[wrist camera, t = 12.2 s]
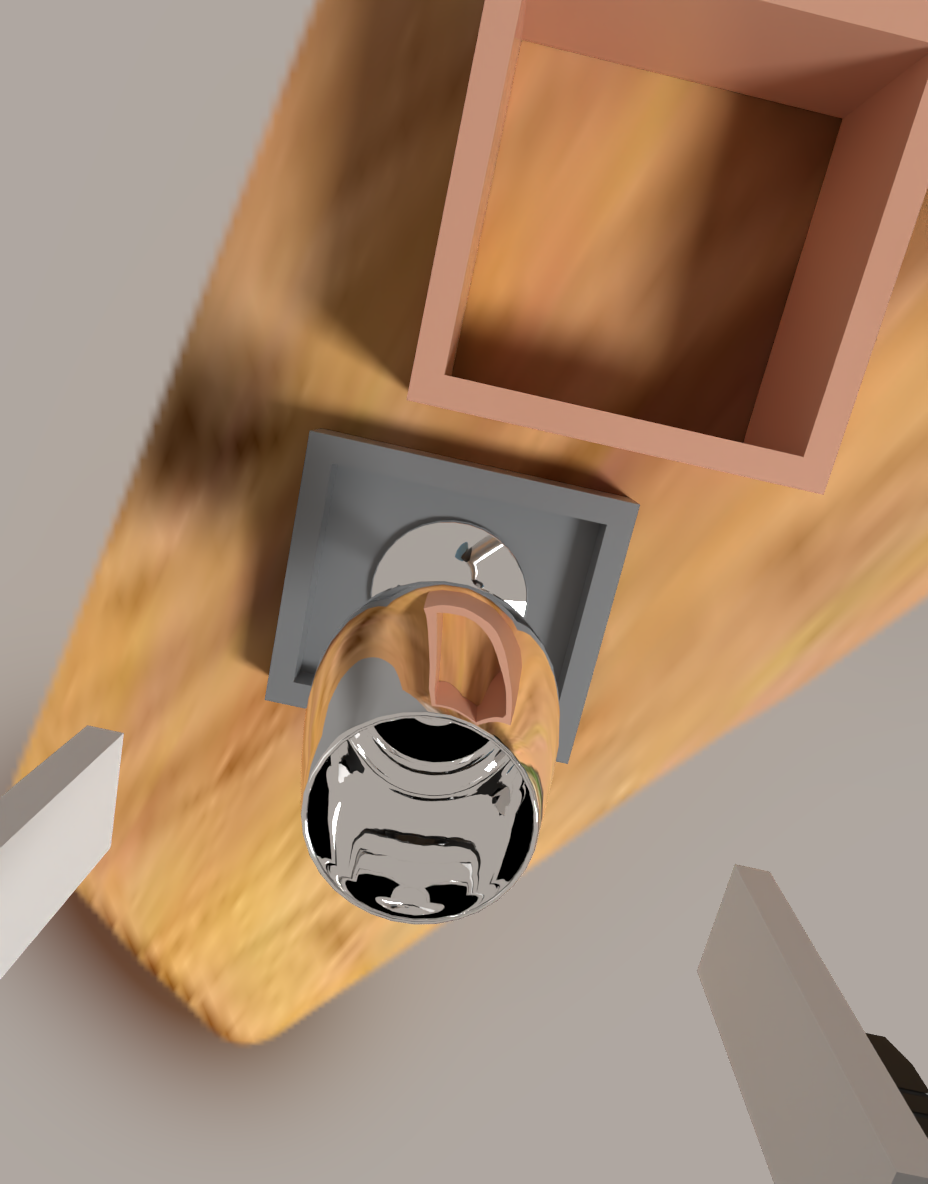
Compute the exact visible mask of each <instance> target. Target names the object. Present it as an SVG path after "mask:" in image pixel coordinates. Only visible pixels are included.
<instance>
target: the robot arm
mask: <svg viewBox="0 0 928 1184" xmlns="http://www.w3.org/2000/svg"><path fill="white" fill-rule="evenodd" d="M123 736H124V733H120V732H116V731H111V730H107V729H102V728H97V727H93V726H88V725H87V726H86V727H85V728H84V729H82V730H81V731H80V732H79V733H78V734H76V735H75V736H74V737H73V738H71V739H70V740H69V741H68V742H67V743H65V744H64V745H63V746H62V747H61V748H59V749H58V750H57V751H56V752H54V753H53V754H52V755H51V756H50V757H48V758H47V759H46V760H45V761H44V762H42V763H41V764H40V765H39V766H37V767H36V768H35V769H34V770H33V771H31V772H30V773H29V774H28V775H27V776H25V777H24V778H23V779H22V780H20V781H19V782H18V783H17V784H16V785H14V786H13V787H12V788H11V789H10V790H8V791H7V792H6V793H5V794H4V795H2V796H1V797H0V979H1V978H2V977H3V976H4V974H5V973H6V972H7V970H8V969H9V968H10V967H11V966H12V965H13V964H14V962H15V961H16V960H17V959H18V958H19V956H20V955H21V954H22V953H23V952H24V950H25V949H26V948H27V947H28V946H29V944H30V943H31V942H32V941H33V940H34V938H35V937H36V936H37V935H38V934H39V932H40V931H41V930H42V929H43V927H44V926H45V925H46V924H47V923H48V922H49V920H50V919H51V918H52V917H53V916H54V915H55V913H56V912H57V911H58V910H59V909H60V907H61V906H62V905H63V904H64V903H65V901H66V900H67V899H68V897H69V896H70V895H71V894H72V893H73V892H74V891H75V889H76V888H77V887H78V886H79V885H80V883H81V882H82V881H83V880H84V879H85V877H86V876H87V875H88V874H89V873H90V871H91V870H92V869H93V868H94V867H95V865H96V864H97V863H98V862H99V861H100V859H101V858H102V857H103V856H104V855H105V853H106V852H107V851H108V850H109V849H110V847H111V839H112V830H113V822H114V813H115V804H116V796H117V787H118V779H119V770H120V761H121V753H122V744H123ZM697 972H698V975H699V978H700V981H701V983H702V986H703V989H704V992H705V994H706V997H707V1000H708V1003H709V1005H710V1008H711V1011H712V1013H713V1016H714V1019H715V1022H716V1025H717V1027H718V1030H719V1033H720V1036H721V1038H722V1041H723V1044H724V1047H725V1050H726V1052H727V1055H728V1058H729V1061H730V1063H731V1066H732V1068H733V1071H734V1074H735V1077H736V1080H737V1082H738V1085H739V1088H740V1091H741V1094H742V1096H743V1099H744V1102H745V1105H746V1107H747V1110H748V1113H749V1115H750V1118H751V1121H752V1124H753V1126H754V1129H755V1132H756V1135H757V1137H758V1140H759V1143H760V1146H761V1149H762V1152H763V1154H764V1157H765V1160H766V1162H767V1165H768V1168H769V1171H770V1174H771V1176H772V1179H773V1181H774V1184H928V1089H927V1087H926V1085H925V1084H924V1082H923V1081H922V1079H921V1078H920V1076H919V1074H918V1073H917V1071H916V1070H915V1068H914V1067H913V1065H912V1064H911V1063H910V1062H909V1061H908V1060H907V1059H906V1058H905V1057H904V1056H903V1055H902V1054H901V1053H900V1052H899V1051H898V1050H897V1049H896V1048H895V1047H894V1046H893V1045H892V1044H891V1043H890V1042H889V1041H888V1040H887V1039H886V1038H885V1037H882V1036H877V1035H873V1034H868V1033H865V1032H864V1030H863V1029H862V1027H861V1025H860V1023H859V1022H858V1020H857V1018H856V1017H855V1015H854V1013H853V1012H852V1010H851V1008H850V1007H849V1005H848V1003H847V1001H846V1000H845V998H844V996H843V995H842V993H841V991H840V990H839V988H838V986H837V985H836V983H835V981H834V979H833V978H832V976H831V974H830V973H829V971H828V969H827V968H826V966H825V964H824V963H823V961H822V960H821V958H820V956H819V954H818V952H817V951H816V949H815V947H814V946H813V944H812V942H811V941H810V939H809V937H808V935H807V934H806V932H805V930H804V929H803V927H802V925H801V924H800V922H799V921H798V919H797V917H796V915H795V913H794V912H793V910H792V908H791V907H790V905H789V903H788V902H787V900H786V899H785V897H784V895H783V893H782V892H781V890H780V888H779V887H778V885H777V883H776V882H775V880H774V878H773V876H772V875H771V873H770V872H768V871H764V870H759V869H755V868H750V867H745V866H741V865H736V864H735V866H734V868H733V871H732V874H731V877H730V880H729V883H728V885H727V888H726V891H725V894H724V897H723V899H722V902H721V905H720V908H719V911H718V913H717V916H716V919H715V922H714V925H713V927H712V930H711V933H710V936H709V939H708V942H707V944H706V947H705V950H704V953H703V956H702V958H701V961H700V964H699V967H698V970H697Z"/></svg>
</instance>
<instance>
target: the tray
mask: <svg viewBox="0 0 928 1184" xmlns="http://www.w3.org/2000/svg"><path fill="white" fill-rule="evenodd" d="M639 507H640V504H638V503H637V502H635V501H634V500H632V499H631V498H629V497H624V496H620V495H616V494H611V493H607V492H602V491H598V490H593V489H589V488H584V487H580V486H576V485H571V484H567V483H562V482H558V481H553V480H549V479H544V478H540V477H536V476H531V475H527V474H522V473H518V472H513V471H509V470H504V469H500V468H496V467H491V466H487V465H482V464H478V463H473V462H469V461H464V460H460V459H456V458H451V457H447V456H442V455H438V454H433V453H429V452H424V451H420V450H415V449H411V448H407V447H402V446H398V445H393V444H389V443H384V442H380V441H375V440H371V439H367V438H362V437H358V436H353V435H349V434H344V433H340V432H335V431H331V430H327V429H322V428H320V429H315V430H310V432H309V438H308V444H307V450H306V456H305V462H304V468H303V474H302V480H301V486H300V492H299V498H298V504H297V510H296V516H295V522H294V528H293V534H292V540H291V546H290V552H289V558H288V564H287V570H286V576H285V582H284V588H283V594H282V600H281V606H280V612H279V618H278V624H277V630H276V636H275V642H274V648H273V654H272V660H271V666H270V672H269V678H268V684H267V690H266V696H265V700H268V701H273V702H277V703H282V704H287V705H291V706H296V707H301V708H306V704H307V698H308V693H309V690H310V687H311V683H312V680H313V678H314V675H315V672H316V669H317V666H318V663H319V661H320V658H321V656H322V653H323V651H324V649H325V647H326V646H327V644H328V642H329V641H330V639H331V638H332V636H333V634H334V633H335V631H336V630H337V629H338V628H339V627H340V626H341V625H342V624H343V623H344V621H345V620H346V619H347V618H348V617H349V616H350V615H351V614H352V613H353V612H354V611H355V610H356V609H357V608H358V607H359V606H360V605H362V604H363V603H365V602H366V601H368V600H369V599H370V598H371V595H370V592H371V585H372V578H373V575H374V572H375V569H376V567H377V564H378V562H379V560H380V559H381V557H382V556H383V554H384V552H385V551H386V550H387V548H388V547H389V546H390V545H391V544H392V543H393V542H394V541H395V540H396V539H397V538H399V537H400V536H401V535H403V534H404V533H406V532H407V531H408V530H411V529H413V528H415V527H417V526H419V525H422V524H425V523H429V522H434V521H438V520H457V521H463V522H469V523H472V524H475V525H477V526H480V527H483V528H485V529H487V530H488V531H490V532H492V533H493V534H495V535H496V536H498V537H499V538H500V539H501V540H502V541H503V542H504V543H505V544H506V545H508V546H509V547H510V549H511V550H512V552H513V553H514V554H515V556H516V557H517V559H518V560H519V563H520V565H521V567H522V569H523V572H524V574H525V579H526V583H527V588H528V605H527V610H526V615H525V618H526V620H527V621H528V623H529V624H530V625H531V627H532V628H533V629H534V631H535V632H536V634H537V635H538V636H539V638H540V640H541V642H542V643H543V645H544V647H545V650H546V652H547V654H548V656H549V659H550V661H551V663H552V665H553V668H554V673H555V678H556V682H557V687H558V694H559V706H560V736H559V747H558V752H557V757H556V761H557V762H561V763H566V764H568V761H569V757H570V754H571V750H572V746H573V743H574V739H575V736H576V732H577V729H578V725H579V721H580V718H581V714H582V711H583V707H584V704H585V700H586V696H587V693H588V689H589V686H590V682H591V678H592V675H593V671H594V668H595V664H596V661H597V657H598V653H599V650H600V646H601V643H602V639H603V636H604V632H605V628H606V625H607V621H608V618H609V614H610V610H611V607H612V603H613V600H614V596H615V593H616V589H617V585H618V582H619V578H620V575H621V571H622V568H623V564H624V560H625V557H626V553H627V550H628V546H629V542H630V539H631V535H632V532H633V528H634V525H635V521H636V517H637V514H638V510H639Z"/></svg>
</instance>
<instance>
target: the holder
mask: <svg viewBox="0 0 928 1184" xmlns="http://www.w3.org/2000/svg"><path fill="white" fill-rule="evenodd" d="M521 40H525V41H529V42H533V43H538V44H542V45H546V46H550V47H554V48H558V49H562V50H566V51H570V52H574V53H578V54H582V55H586V56H590V57H594V58H598V59H603V60H607V61H611V62H615V63H619V64H623V65H627V66H631V67H635V68H639V69H643V70H647V71H651V72H655V73H659V74H664V75H668V76H672V77H676V78H680V79H684V80H688V81H692V82H696V83H700V84H704V85H708V86H712V87H716V88H720V89H725V90H729V91H733V92H737V93H741V94H745V95H749V96H753V97H757V98H761V99H765V100H769V101H773V102H777V103H781V104H785V105H790V106H794V107H798V108H802V109H806V110H810V111H814V112H818V113H822V114H826V115H830V116H834V117H838V118H842V122H841V126H840V129H839V132H838V135H837V139H836V142H835V145H834V148H833V152H832V155H831V158H830V162H829V165H828V168H827V171H826V175H825V178H824V181H823V184H822V188H821V191H820V194H819V197H818V201H817V204H816V207H815V210H814V214H813V217H812V220H811V223H810V227H809V230H808V233H807V236H806V240H805V243H804V246H803V249H802V253H801V256H800V259H799V262H798V266H797V269H796V272H795V276H794V279H793V282H792V285H791V289H790V292H789V295H788V298H787V302H786V305H785V308H784V311H783V315H782V318H781V321H780V324H779V328H778V331H777V334H776V337H775V341H774V344H773V347H772V350H771V354H770V357H769V360H768V363H767V367H766V370H765V373H764V376H763V380H762V383H761V386H760V390H759V393H758V396H757V399H756V403H755V406H754V409H753V412H752V416H751V419H750V422H749V425H748V429H747V432H746V435H745V438H744V442H743V443H740V442H736V441H731V440H727V439H723V438H718V437H714V436H710V435H705V434H701V433H697V432H692V431H688V430H683V429H679V428H675V427H670V426H666V425H662V424H657V423H653V422H648V421H644V420H640V419H635V418H631V417H627V416H622V415H618V414H613V413H609V412H605V411H600V410H596V409H592V408H587V407H583V406H579V405H574V404H570V403H565V402H561V401H557V400H552V399H548V398H544V397H539V396H535V395H530V394H526V393H522V392H517V391H513V390H509V389H504V388H500V387H495V386H491V385H487V384H482V383H478V382H474V381H469V380H465V379H461V378H456V377H452V371H453V366H454V361H455V357H456V352H457V347H458V342H459V337H460V333H461V328H462V323H463V318H464V313H465V309H466V304H467V299H468V294H469V289H470V285H471V280H472V275H473V270H474V265H475V261H476V256H477V251H478V246H479V241H480V237H481V232H482V227H483V222H484V218H485V213H486V208H487V203H488V198H489V194H490V189H491V184H492V179H493V174H494V170H495V165H496V160H497V155H498V150H499V146H500V141H501V136H502V131H503V126H504V122H505V117H506V112H507V107H508V102H509V98H510V93H511V88H512V83H513V79H514V74H515V69H516V64H517V59H518V55H519V50H520V45H521ZM927 188H928V0H485V2H484V7H483V13H482V18H481V23H480V28H479V33H478V38H477V43H476V48H475V53H474V58H473V64H472V69H471V74H470V79H469V84H468V89H467V94H466V99H465V104H464V109H463V115H462V120H461V125H460V130H459V135H458V140H457V145H456V150H455V155H454V160H453V166H452V171H451V176H450V181H449V186H448V191H447V196H446V201H445V206H444V211H443V217H442V222H441V227H440V232H439V237H438V242H437V247H436V252H435V257H434V263H433V268H432V273H431V278H430V283H429V288H428V293H427V298H426V303H425V308H424V314H423V319H422V324H421V329H420V334H419V339H418V344H417V349H416V354H415V359H414V365H413V370H412V375H411V380H410V385H409V390H408V395H407V400H409V401H413V402H418V403H422V404H427V405H431V406H435V407H440V408H444V409H449V410H453V411H457V412H462V413H466V414H471V415H475V416H479V417H484V418H488V419H493V420H497V421H501V422H506V423H510V424H515V425H519V426H523V427H528V428H532V429H537V430H541V431H545V432H550V433H554V434H559V435H563V436H567V437H572V438H576V439H581V440H585V441H589V442H594V443H598V444H603V445H607V446H611V447H616V448H620V449H625V450H629V451H633V452H638V453H642V454H647V455H651V456H655V457H660V458H664V459H669V460H673V461H677V462H682V463H686V464H691V465H695V466H699V467H704V468H708V469H713V470H717V471H721V472H726V473H730V474H735V475H739V476H743V477H748V478H752V479H757V480H761V481H765V482H770V483H774V484H779V485H783V486H788V487H792V488H796V489H801V490H805V491H810V492H814V493H818V494H823V495H824V492H825V489H826V486H827V483H828V480H829V477H830V474H831V471H832V468H833V465H834V462H835V459H836V456H837V453H838V450H839V448H840V445H841V442H842V439H843V436H844V433H845V430H846V427H847V424H848V421H849V418H850V415H851V412H852V409H853V406H854V403H855V400H856V397H857V394H858V391H859V388H860V385H861V383H862V380H863V377H864V374H865V371H866V368H867V365H868V362H869V359H870V356H871V353H872V350H873V347H874V344H875V341H876V338H877V335H878V332H879V329H880V326H881V323H882V321H883V318H884V315H885V312H886V309H887V306H888V303H889V300H890V297H891V294H892V291H893V288H894V285H895V282H896V279H897V276H898V273H899V270H900V267H901V264H902V261H903V258H904V256H905V253H906V250H907V247H908V244H909V241H910V238H911V235H912V232H913V229H914V226H915V223H916V220H917V217H918V214H919V211H920V208H921V205H922V202H923V199H924V196H925V193H926V191H927Z"/></svg>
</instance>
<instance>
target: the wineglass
mask: <svg viewBox="0 0 928 1184" xmlns="http://www.w3.org/2000/svg"><path fill="white" fill-rule="evenodd" d="M370 595H371V598H370V599H369V600H368V601H366V602H365V603H363V604H362V605H360V606H359V607H358V608H357V609H356V610H355V611H354V612H353V613H352V614H351V615H350V616H349V617H348V618H347V619H346V620H345V621H344V623H343V624H342V625H341V626H340V627H339V628H338V629H337V630H336V631H335V633H334V634H333V636H332V638H331V639H330V641H329V642H328V644H327V646H326V647H325V649H324V651H323V653H322V656H321V658H320V661H319V663H318V666H317V669H316V672H315V675H314V678H313V680H312V683H311V687H310V690H309V693H308V698H307V704H306V712H305V720H304V728H303V742H302V754H301V819H302V830H303V836H304V839H305V843H306V846H307V849H308V852H309V855H310V857H311V858H312V860H313V862H314V864H315V865H316V867H317V869H318V871H319V872H320V874H321V875H322V876H323V877H324V879H325V880H326V881H327V882H328V883H329V884H330V886H331V887H332V888H333V889H334V890H335V891H336V892H338V893H339V894H340V895H341V896H343V897H344V898H345V899H346V900H348V901H349V902H350V903H352V904H353V905H355V906H357V907H359V908H361V909H363V910H365V911H366V912H368V913H370V914H373V915H376V916H379V917H382V918H385V919H388V920H391V921H396V922H403V923H409V924H438V923H444V922H449V921H454V920H459V919H461V918H464V917H467V916H469V915H472V914H475V913H477V912H480V911H481V910H483V909H485V908H486V907H488V906H490V905H491V904H493V903H494V902H496V901H498V900H499V899H500V898H501V897H502V896H503V895H504V894H505V893H507V892H508V891H509V890H510V889H511V888H512V887H513V886H514V885H515V884H516V882H517V881H518V880H519V878H520V877H521V875H522V874H523V873H524V871H525V870H526V868H527V866H528V864H529V862H530V860H531V858H532V855H533V853H534V851H535V848H536V844H537V840H538V836H539V832H540V828H541V825H542V821H543V817H544V814H545V810H546V806H547V801H548V797H549V792H550V788H551V783H552V779H553V774H554V769H555V763H556V757H557V752H558V747H559V736H560V706H559V694H558V687H557V682H556V678H555V673H554V668H553V665H552V663H551V661H550V659H549V656H548V654H547V652H546V650H545V647H544V645H543V643H542V642H541V640H540V638H539V636H538V635H537V634H536V632H535V631H534V629H533V628H532V627H531V625H530V624H529V623H528V621H527V620H526V618H525V615H526V610H527V605H528V588H527V583H526V579H525V574H524V572H523V569H522V567H521V565H520V563H519V560H518V559H517V557H516V556H515V554H514V553H513V552H512V550H511V549H510V547H509V546H508V545H506V544H505V543H504V542H503V541H502V540H501V539H500V538H499V537H498V536H496V535H495V534H493V533H492V532H490V531H488V530H487V529H485V528H483V527H480V526H477V525H475V524H472V523H469V522H463V521H457V520H438V521H434V522H429V523H425V524H422V525H419V526H417V527H415V528H413V529H411V530H408V531H407V532H406V533H404V534H403V535H401V536H400V537H399V538H397V539H396V540H395V541H394V542H393V543H392V544H391V545H390V546H389V547H388V548H387V550H386V551H385V552H384V554H383V556H382V557H381V559H380V560H379V562H378V564H377V567H376V569H375V572H374V575H373V578H372V585H371V592H370Z"/></svg>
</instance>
